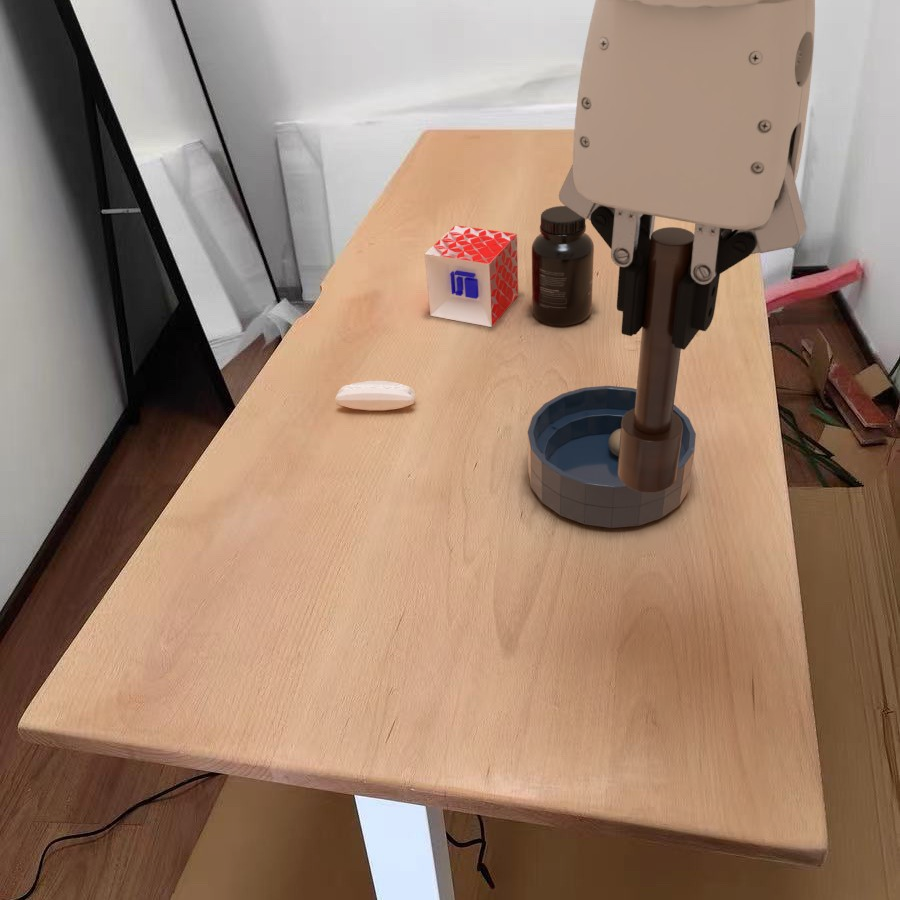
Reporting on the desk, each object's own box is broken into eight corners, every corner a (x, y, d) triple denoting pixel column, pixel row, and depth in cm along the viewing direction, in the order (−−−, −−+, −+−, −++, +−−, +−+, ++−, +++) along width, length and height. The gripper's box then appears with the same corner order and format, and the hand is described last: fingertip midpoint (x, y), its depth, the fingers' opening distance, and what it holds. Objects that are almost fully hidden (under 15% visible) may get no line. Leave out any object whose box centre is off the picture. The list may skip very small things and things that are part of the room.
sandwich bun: (414, 415, 86) (411, 392, 84) (335, 415, 87) (331, 392, 85) (418, 397, 88) (415, 374, 87) (341, 397, 89) (337, 374, 88)
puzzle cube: (518, 295, 104) (517, 233, 99) (492, 327, 98) (489, 263, 93) (458, 285, 107) (454, 225, 102) (429, 315, 101) (423, 253, 96)
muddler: (684, 466, 54) (719, 228, 44) (663, 500, 52) (695, 257, 42) (631, 449, 56) (653, 216, 46) (608, 481, 54) (625, 243, 44)
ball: (641, 450, 79) (643, 427, 77) (629, 466, 77) (631, 443, 75) (615, 441, 80) (616, 419, 78) (603, 457, 78) (604, 434, 77)
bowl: (712, 456, 78) (719, 412, 75) (650, 553, 69) (655, 507, 66) (572, 413, 84) (573, 371, 81) (500, 497, 76) (498, 453, 72)
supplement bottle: (603, 315, 99) (608, 215, 91) (555, 334, 96) (556, 233, 89) (567, 292, 103) (569, 196, 96) (520, 310, 101) (518, 212, 94)
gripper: (930, -61, 35) (830, 332, 46) (570, -72, 42) (561, 271, 54) (892, -22, 30) (791, 406, 42) (493, -42, 37) (502, 328, 49)
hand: (662, 327), depth 47 cm, fingers closed on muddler, 2 cm apart
